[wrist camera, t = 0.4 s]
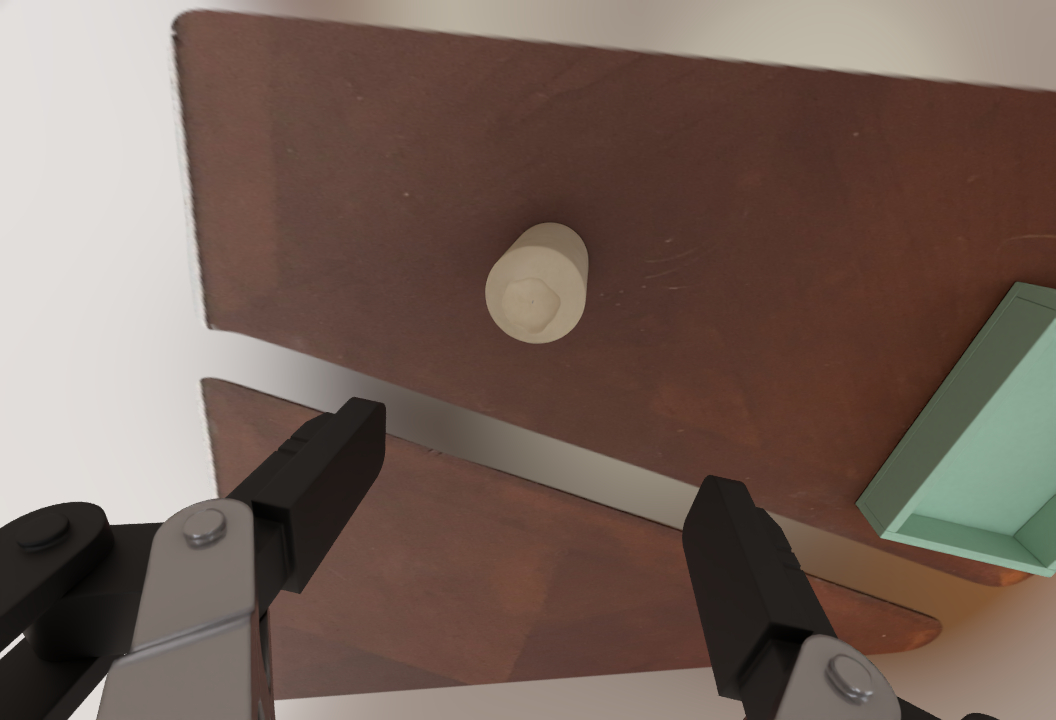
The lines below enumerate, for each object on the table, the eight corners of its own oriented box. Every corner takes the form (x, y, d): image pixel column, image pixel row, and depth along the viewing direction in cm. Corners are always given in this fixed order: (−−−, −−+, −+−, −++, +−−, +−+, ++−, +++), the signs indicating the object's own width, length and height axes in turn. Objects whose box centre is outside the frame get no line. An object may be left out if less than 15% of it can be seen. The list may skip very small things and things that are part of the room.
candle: (585, 216, 29) (580, 246, 20) (591, 294, 31) (588, 351, 23) (507, 226, 30) (469, 257, 21) (518, 300, 32) (488, 357, 24)
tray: (1015, 281, 27) (1071, 298, 24) (1227, 323, 26) (1314, 347, 23) (854, 503, 36) (879, 537, 33) (1009, 539, 35) (1050, 578, 32)
